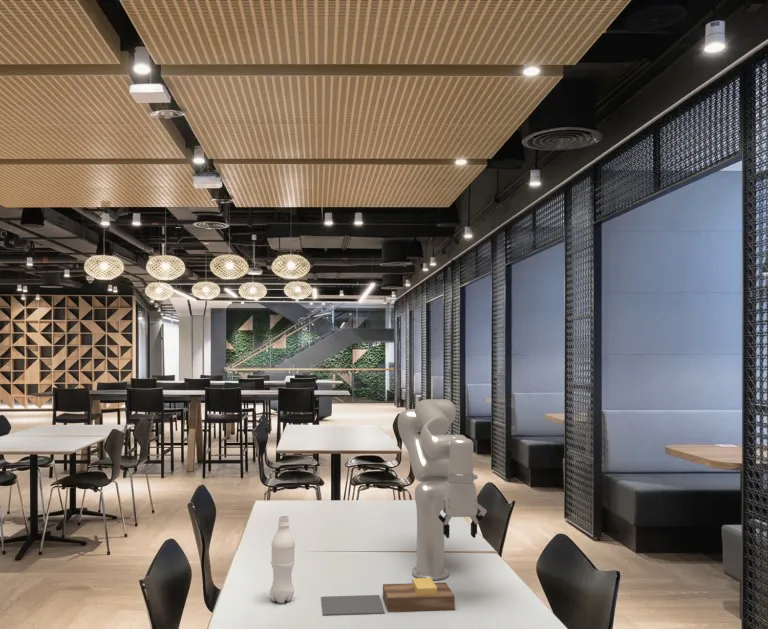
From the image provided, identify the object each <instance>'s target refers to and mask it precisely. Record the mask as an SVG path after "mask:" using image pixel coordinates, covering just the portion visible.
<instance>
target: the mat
mask: <svg viewBox="0 0 768 629" xmlns="http://www.w3.org/2000/svg"><path fill="white" fill-rule="evenodd" d="M320 600H321V611H322V612H321V613H322V616H323V617H325V616H326V617H327V616H330V617H331V616H353V615H354V616H357V615H361V616H362V615H385V614H386V612H385V609H384V606H383V602H382V599H381V596H380V594H370V595H369V594H367V595H366V594H364V595H363V594H362V595H333V596H332V595H330V596H328V595H326V596H321V597H320Z"/></svg>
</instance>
